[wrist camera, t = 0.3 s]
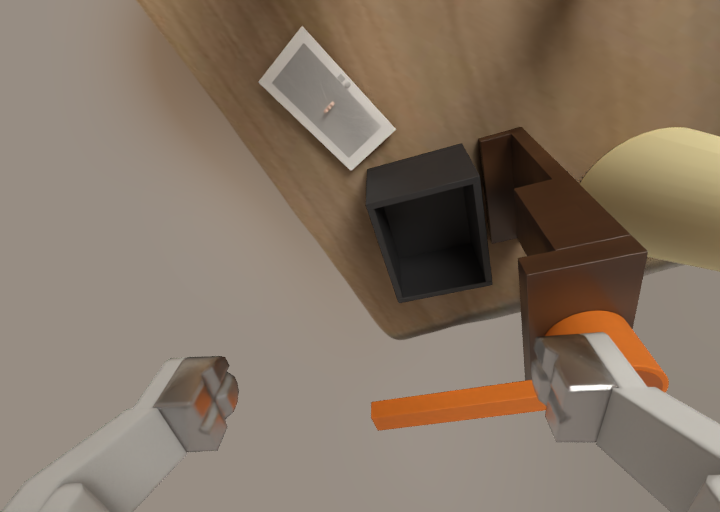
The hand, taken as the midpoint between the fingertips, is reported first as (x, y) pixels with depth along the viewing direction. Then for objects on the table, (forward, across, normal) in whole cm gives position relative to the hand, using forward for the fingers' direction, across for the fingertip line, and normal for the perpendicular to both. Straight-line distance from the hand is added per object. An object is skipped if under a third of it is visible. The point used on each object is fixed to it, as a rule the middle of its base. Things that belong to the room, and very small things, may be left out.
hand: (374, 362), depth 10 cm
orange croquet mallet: (+16, -7, +17) cm, 24 cm away
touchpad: (+40, +6, -2) cm, 41 cm away
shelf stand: (+42, -14, +13) cm, 46 cm away
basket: (+42, -4, +14) cm, 44 cm away
